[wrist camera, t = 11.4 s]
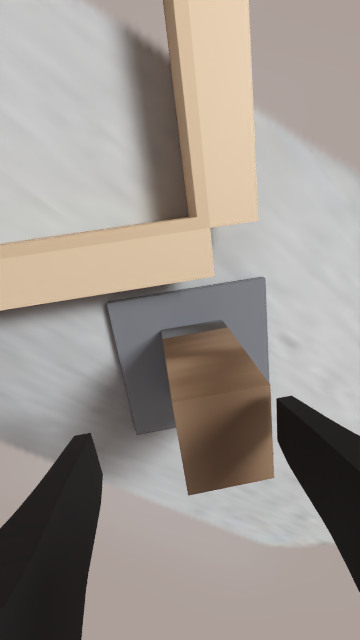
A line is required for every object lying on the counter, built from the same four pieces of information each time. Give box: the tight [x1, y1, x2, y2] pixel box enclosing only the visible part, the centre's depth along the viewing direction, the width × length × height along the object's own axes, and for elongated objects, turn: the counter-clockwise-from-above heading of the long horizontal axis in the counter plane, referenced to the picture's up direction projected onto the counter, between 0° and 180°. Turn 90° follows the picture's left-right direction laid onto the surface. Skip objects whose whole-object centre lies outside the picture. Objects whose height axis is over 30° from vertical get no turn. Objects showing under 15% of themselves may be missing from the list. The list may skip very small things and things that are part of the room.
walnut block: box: [161, 320, 274, 495], centre depth 17 cm, size 4×5×8 cm
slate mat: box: [107, 277, 269, 435], centre depth 21 cm, size 10×10×1 cm
